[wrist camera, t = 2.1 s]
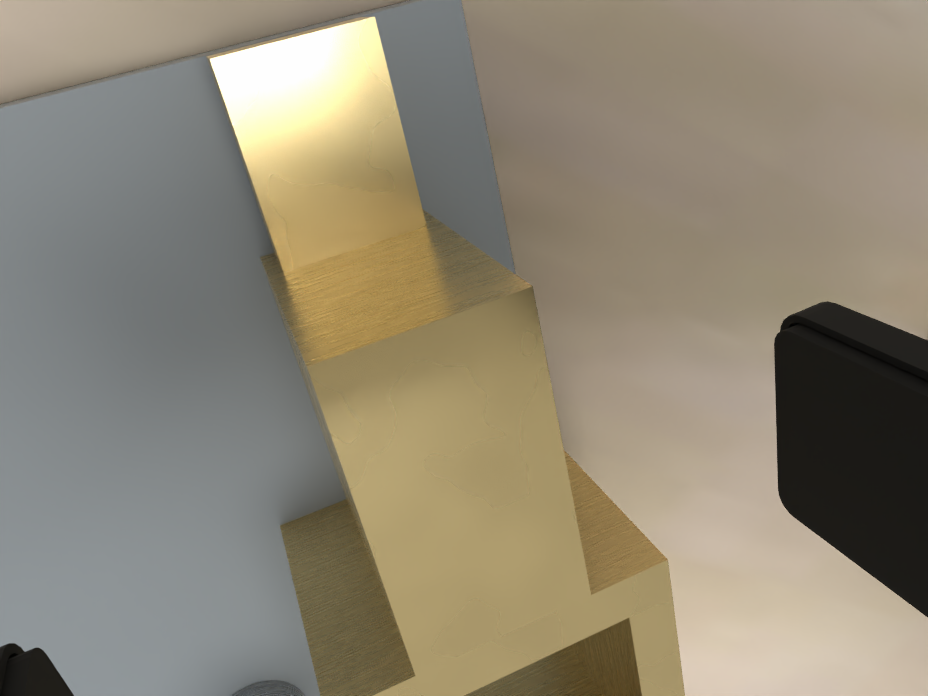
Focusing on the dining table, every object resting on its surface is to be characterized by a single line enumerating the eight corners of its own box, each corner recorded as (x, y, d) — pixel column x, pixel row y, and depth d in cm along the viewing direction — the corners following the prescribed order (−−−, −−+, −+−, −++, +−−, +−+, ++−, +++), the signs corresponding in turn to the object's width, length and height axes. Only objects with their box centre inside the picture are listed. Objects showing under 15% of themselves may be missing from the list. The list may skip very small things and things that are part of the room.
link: (576, 613, 23) (696, 781, 18) (358, 715, 22) (419, 930, 17) (450, -7, 16) (595, -22, 10) (97, 83, 14) (59, 118, 9)
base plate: (436, -7, 17) (459, -9, 16) (567, 613, 25) (589, 645, 24) (-729, 290, 13) (-834, 321, 11) (-100, 922, 21) (-117, 982, 20)
